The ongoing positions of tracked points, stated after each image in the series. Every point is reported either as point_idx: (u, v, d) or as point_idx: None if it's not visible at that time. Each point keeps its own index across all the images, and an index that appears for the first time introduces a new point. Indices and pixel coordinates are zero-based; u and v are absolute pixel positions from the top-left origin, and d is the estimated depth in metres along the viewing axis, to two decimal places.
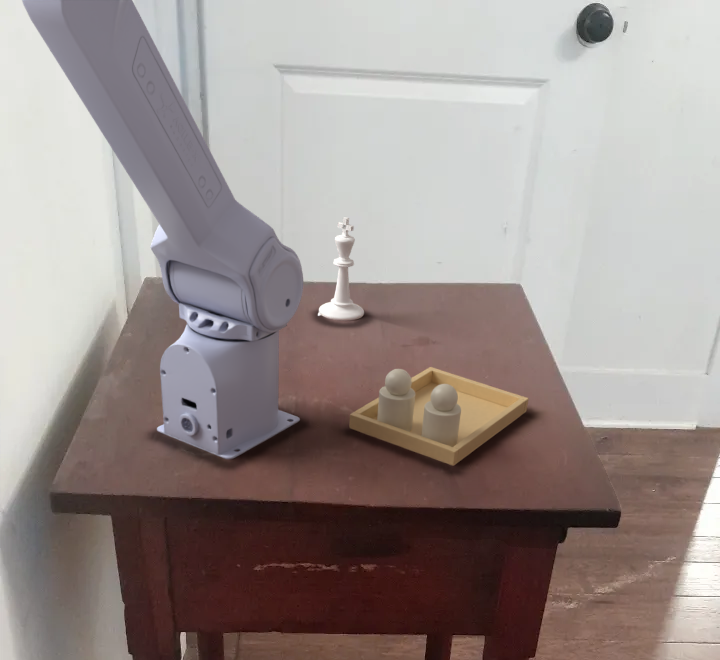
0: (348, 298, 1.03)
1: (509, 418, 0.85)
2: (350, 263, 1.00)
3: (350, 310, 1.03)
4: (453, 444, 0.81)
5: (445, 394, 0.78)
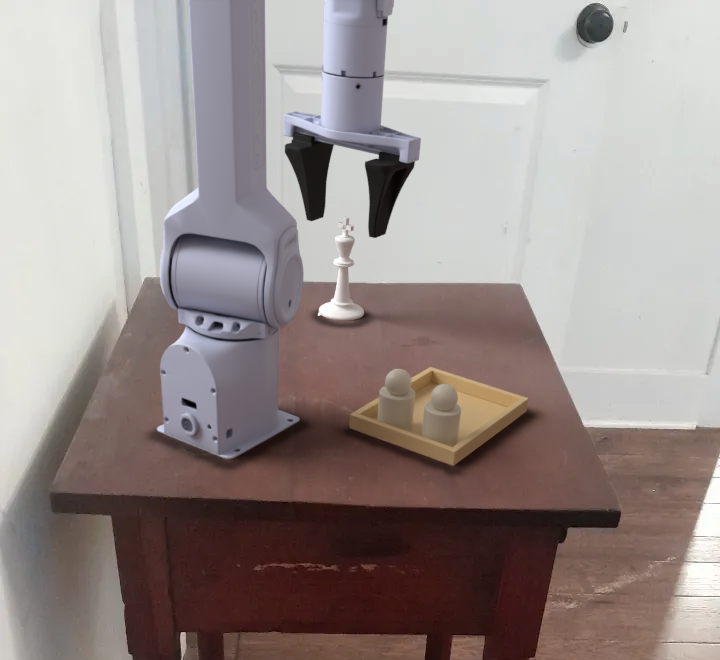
0: (348, 298, 1.03)
1: (509, 418, 0.85)
2: (350, 263, 1.00)
3: (350, 310, 1.03)
4: (453, 444, 0.81)
5: (445, 394, 0.78)
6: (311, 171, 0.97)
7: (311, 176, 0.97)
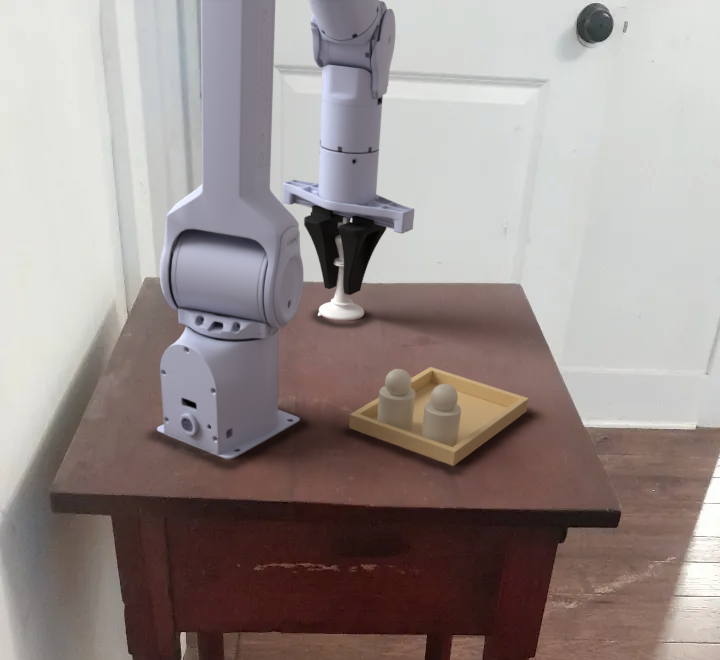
0: (348, 298, 1.03)
1: (509, 418, 0.85)
2: None
3: (350, 310, 1.03)
4: (453, 444, 0.81)
5: (445, 394, 0.78)
6: (329, 242, 1.00)
7: (329, 247, 1.00)
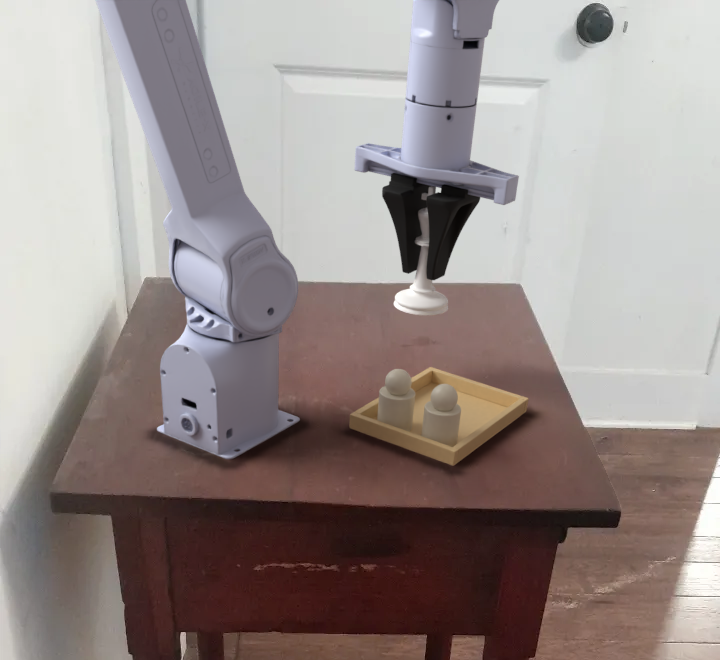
0: (431, 284, 0.87)
1: (509, 418, 0.85)
2: None
3: (433, 298, 0.87)
4: (453, 444, 0.81)
5: (445, 394, 0.78)
6: (411, 217, 0.84)
7: (411, 223, 0.84)
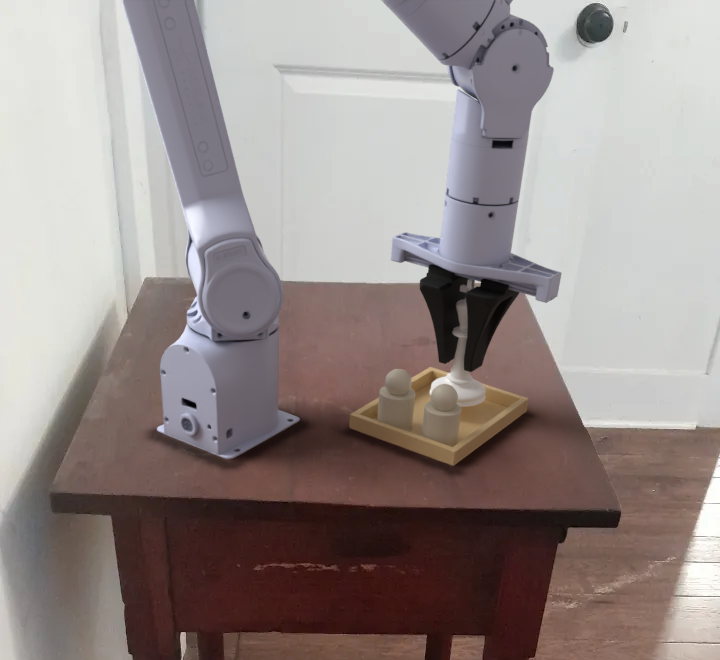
0: (468, 374, 0.85)
1: (509, 418, 0.85)
2: None
3: (470, 388, 0.85)
4: (453, 444, 0.81)
5: (445, 394, 0.78)
6: (449, 309, 0.81)
7: (448, 315, 0.82)
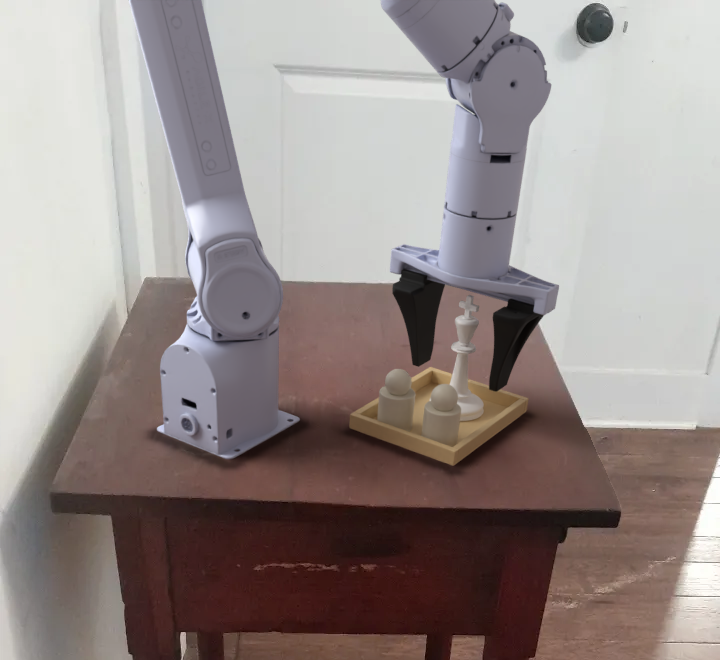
0: (466, 389, 0.86)
1: (509, 418, 0.85)
2: (472, 349, 0.83)
3: (468, 402, 0.86)
4: (453, 444, 0.81)
5: (445, 394, 0.78)
6: (422, 313, 0.83)
7: (421, 319, 0.83)
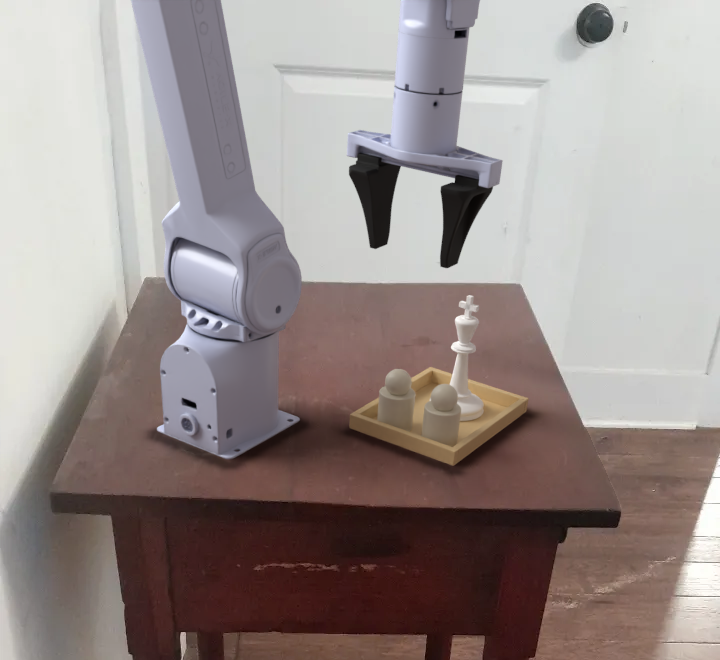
0: (466, 389, 0.86)
1: (509, 418, 0.85)
2: (472, 349, 0.83)
3: (468, 402, 0.86)
4: (453, 444, 0.81)
5: (445, 394, 0.78)
6: (377, 195, 0.88)
7: (377, 200, 0.89)
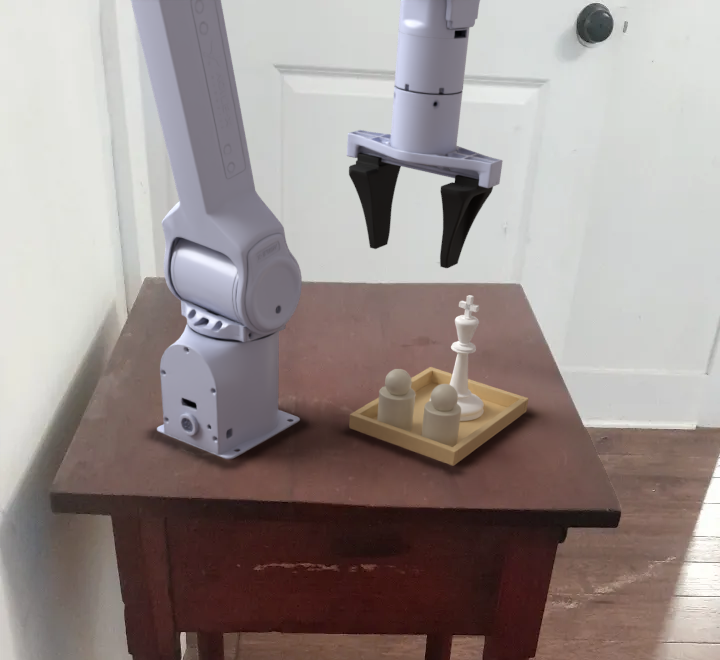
0: (466, 389, 0.86)
1: (509, 418, 0.85)
2: (472, 349, 0.83)
3: (468, 402, 0.86)
4: (453, 444, 0.81)
5: (445, 394, 0.78)
6: (377, 195, 0.88)
7: (377, 200, 0.89)
